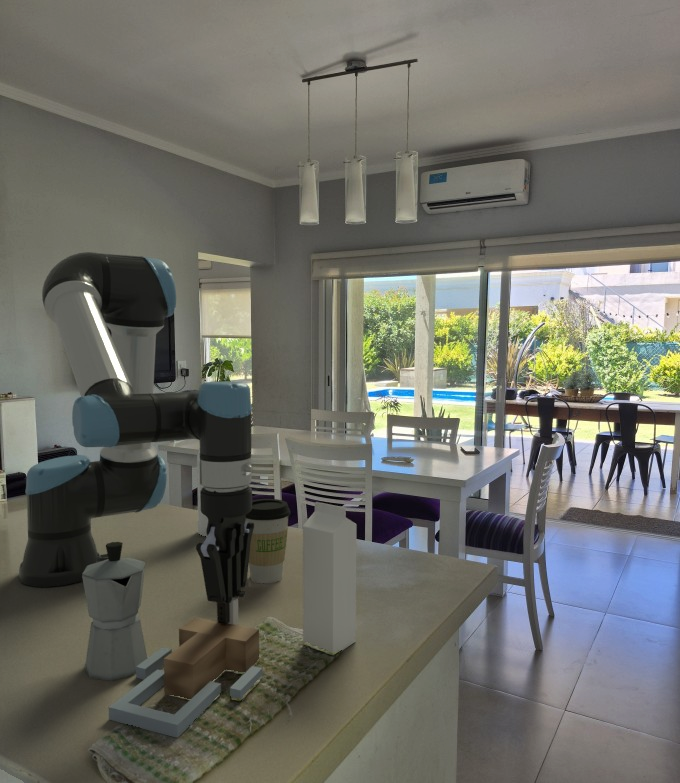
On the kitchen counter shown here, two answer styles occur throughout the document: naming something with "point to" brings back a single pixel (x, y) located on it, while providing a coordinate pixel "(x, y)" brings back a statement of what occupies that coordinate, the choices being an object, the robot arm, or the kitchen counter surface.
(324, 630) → the milk
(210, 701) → the t bay
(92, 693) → the kitchen counter surface
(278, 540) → the coffee cup
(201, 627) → the t block
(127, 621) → the coffee maker
